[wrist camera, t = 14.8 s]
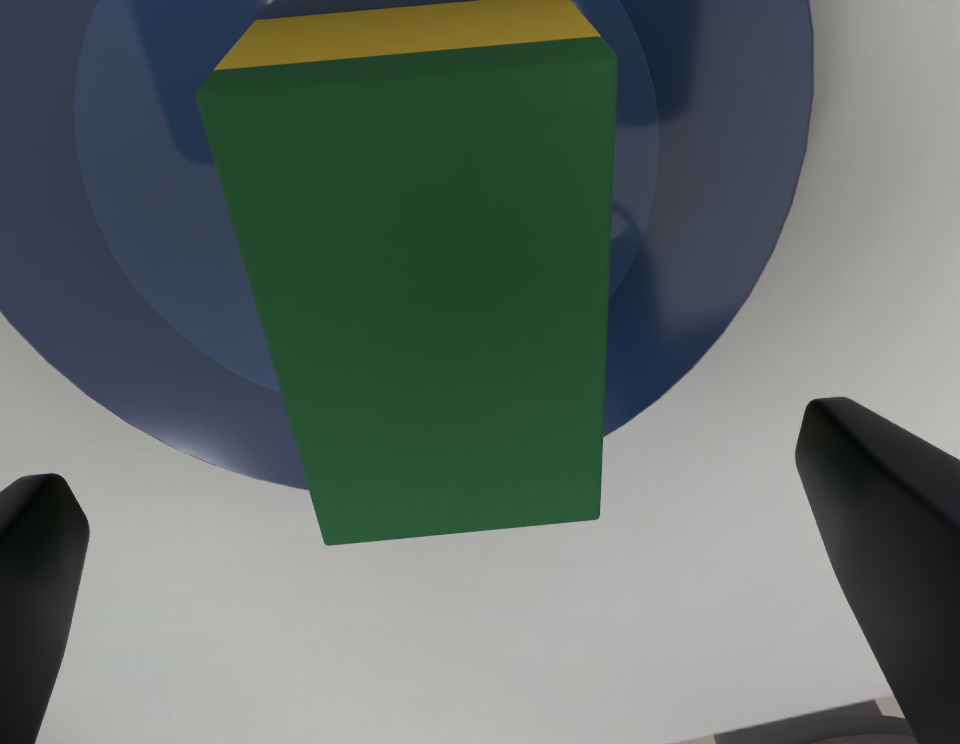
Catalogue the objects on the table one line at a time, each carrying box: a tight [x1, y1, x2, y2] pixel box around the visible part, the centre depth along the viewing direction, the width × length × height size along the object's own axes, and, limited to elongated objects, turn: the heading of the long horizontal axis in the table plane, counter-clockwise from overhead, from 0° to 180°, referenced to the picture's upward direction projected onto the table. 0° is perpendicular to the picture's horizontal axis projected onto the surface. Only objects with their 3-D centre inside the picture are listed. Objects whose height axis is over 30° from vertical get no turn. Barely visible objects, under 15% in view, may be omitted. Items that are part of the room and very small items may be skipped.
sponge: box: [195, 0, 618, 546], centre depth 13 cm, size 8×5×4 cm, turn 4°
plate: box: [0, 0, 814, 490], centre depth 14 cm, size 16×16×1 cm
